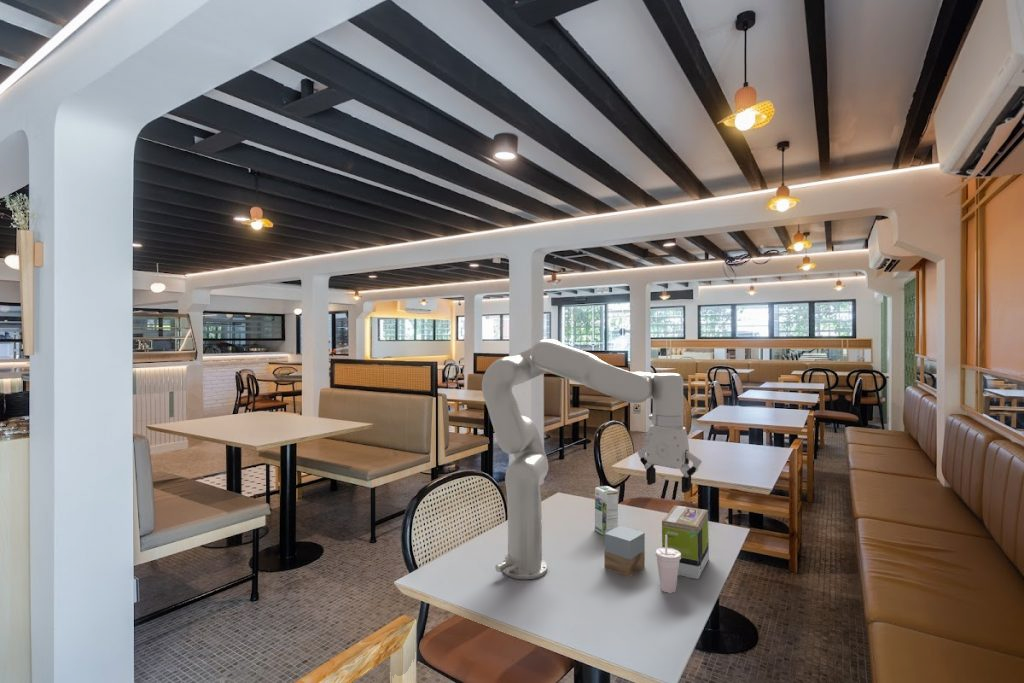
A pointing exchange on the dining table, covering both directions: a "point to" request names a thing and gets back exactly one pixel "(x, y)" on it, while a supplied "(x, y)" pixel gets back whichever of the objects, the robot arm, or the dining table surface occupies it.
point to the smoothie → (668, 567)
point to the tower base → (625, 563)
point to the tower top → (624, 542)
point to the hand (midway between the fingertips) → (668, 487)
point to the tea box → (688, 538)
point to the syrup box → (606, 509)
